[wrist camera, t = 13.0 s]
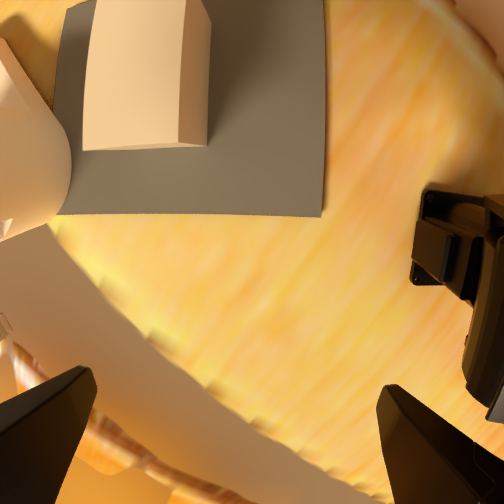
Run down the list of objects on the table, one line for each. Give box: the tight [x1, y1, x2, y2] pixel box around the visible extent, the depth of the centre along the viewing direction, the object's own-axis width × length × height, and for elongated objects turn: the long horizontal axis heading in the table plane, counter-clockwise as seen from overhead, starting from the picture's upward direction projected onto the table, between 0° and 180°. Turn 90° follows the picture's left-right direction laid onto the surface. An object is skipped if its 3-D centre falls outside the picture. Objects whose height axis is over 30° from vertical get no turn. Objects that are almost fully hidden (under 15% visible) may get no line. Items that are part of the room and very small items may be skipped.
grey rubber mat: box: [53, 0, 325, 218], centre depth 16 cm, size 18×16×1 cm
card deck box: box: [83, 0, 212, 151], centre depth 13 cm, size 8×4×6 cm, turn 179°
